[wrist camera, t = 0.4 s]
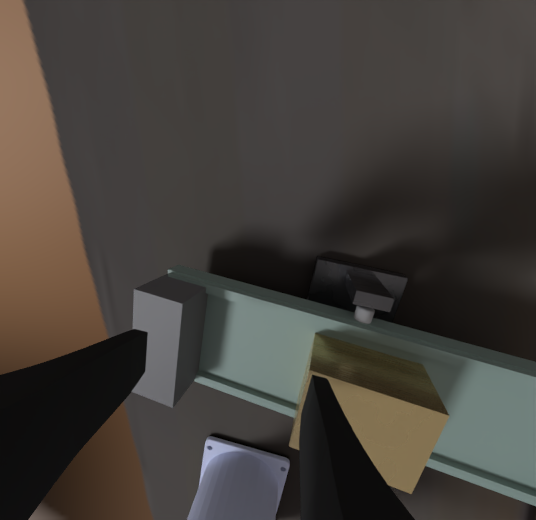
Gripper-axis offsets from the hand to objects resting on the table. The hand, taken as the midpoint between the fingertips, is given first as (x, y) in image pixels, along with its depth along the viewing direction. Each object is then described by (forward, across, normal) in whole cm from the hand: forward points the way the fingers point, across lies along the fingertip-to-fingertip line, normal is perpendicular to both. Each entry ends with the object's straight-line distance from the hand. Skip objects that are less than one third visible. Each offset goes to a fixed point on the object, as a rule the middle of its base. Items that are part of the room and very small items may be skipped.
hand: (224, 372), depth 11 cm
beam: (+5, -6, +2) cm, 9 cm away
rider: (+5, -7, +2) cm, 9 cm away
